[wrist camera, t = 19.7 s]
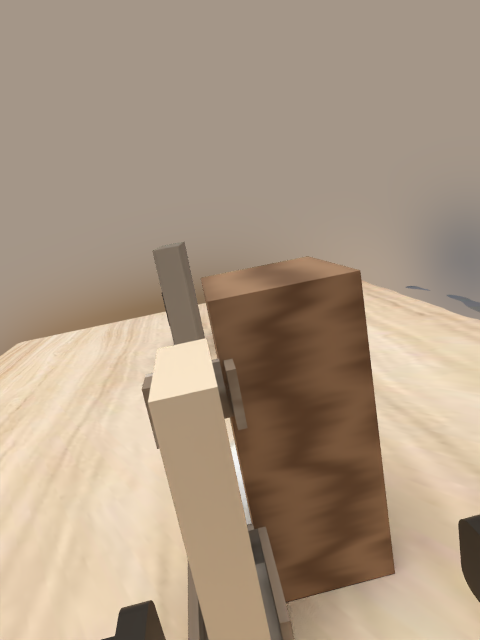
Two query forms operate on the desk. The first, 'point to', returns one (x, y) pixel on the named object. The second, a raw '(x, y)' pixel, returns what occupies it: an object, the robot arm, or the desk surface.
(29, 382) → the desk surface
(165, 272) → the cassette tape recorder
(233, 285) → the cabinet
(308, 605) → the desk surface
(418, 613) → the desk surface
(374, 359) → the desk surface
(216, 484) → the beige rectangular block
